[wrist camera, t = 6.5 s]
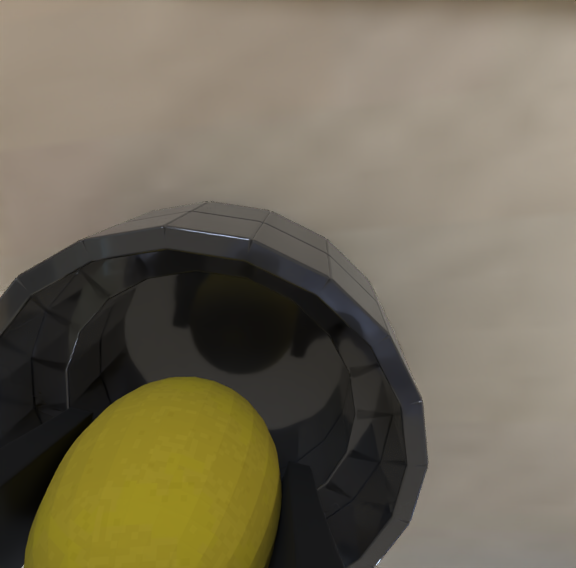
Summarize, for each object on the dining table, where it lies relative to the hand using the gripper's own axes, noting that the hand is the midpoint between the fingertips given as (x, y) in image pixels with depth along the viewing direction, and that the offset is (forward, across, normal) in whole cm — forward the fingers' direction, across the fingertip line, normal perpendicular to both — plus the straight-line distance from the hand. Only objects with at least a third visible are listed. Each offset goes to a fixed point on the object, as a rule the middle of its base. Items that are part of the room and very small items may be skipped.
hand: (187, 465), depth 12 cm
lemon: (+3, 0, 0) cm, 3 cm away
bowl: (+5, 0, 0) cm, 5 cm away
